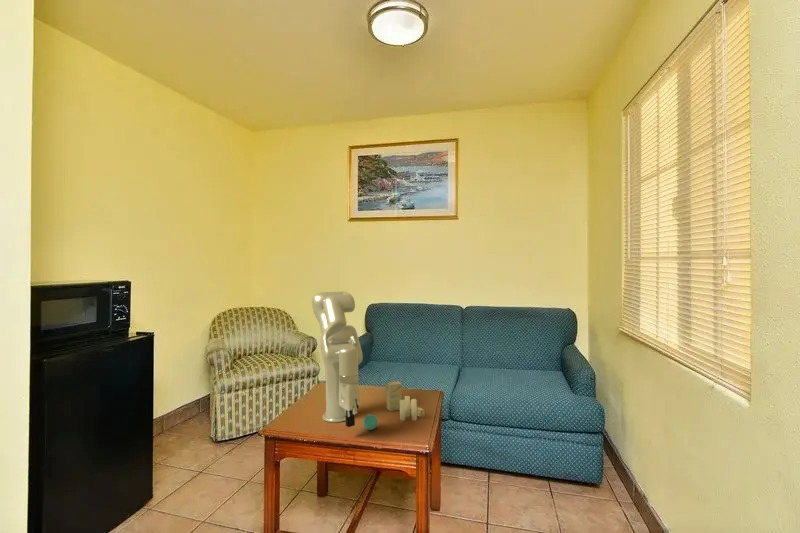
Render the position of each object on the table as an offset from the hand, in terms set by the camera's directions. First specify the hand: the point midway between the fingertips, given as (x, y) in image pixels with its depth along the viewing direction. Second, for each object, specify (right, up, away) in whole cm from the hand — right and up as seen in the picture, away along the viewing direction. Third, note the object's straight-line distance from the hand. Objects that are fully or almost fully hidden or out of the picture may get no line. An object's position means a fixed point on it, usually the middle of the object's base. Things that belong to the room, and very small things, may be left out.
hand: (350, 425), depth 146 cm
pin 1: (+23, -4, +20) cm, 30 cm away
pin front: (+21, -4, +15) cm, 26 cm away
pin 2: (+26, -4, +15) cm, 30 cm away
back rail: (+27, -4, +23) cm, 35 cm away
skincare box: (+17, -4, +28) cm, 33 cm away
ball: (+8, -1, +6) cm, 10 cm away
